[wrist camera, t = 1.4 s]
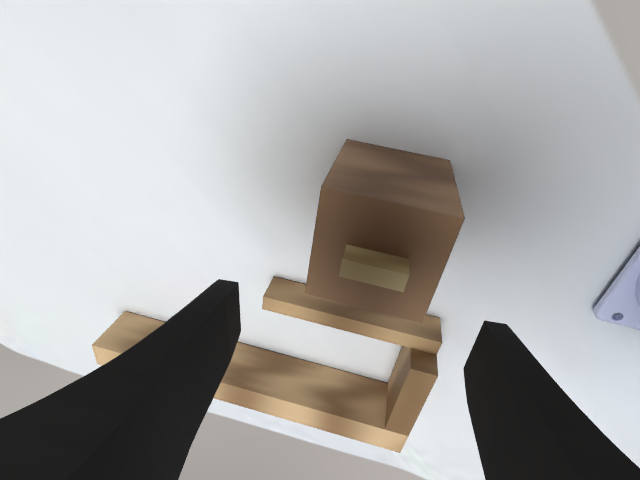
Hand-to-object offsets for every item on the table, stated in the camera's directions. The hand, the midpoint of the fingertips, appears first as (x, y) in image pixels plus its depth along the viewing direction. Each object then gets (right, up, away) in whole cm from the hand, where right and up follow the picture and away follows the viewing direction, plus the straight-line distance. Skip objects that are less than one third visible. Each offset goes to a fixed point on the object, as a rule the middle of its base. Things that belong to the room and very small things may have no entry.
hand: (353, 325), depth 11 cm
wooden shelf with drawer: (-5, -3, +15) cm, 16 cm away
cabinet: (+2, +5, +8) cm, 10 cm away
